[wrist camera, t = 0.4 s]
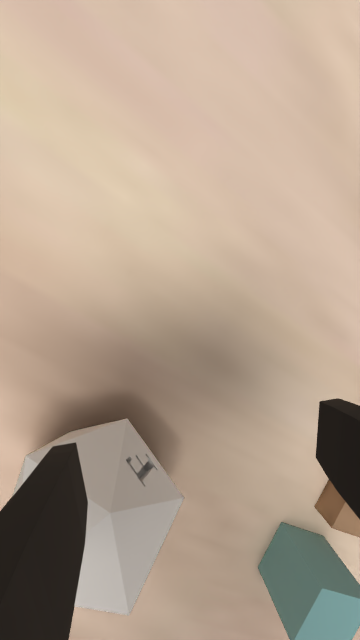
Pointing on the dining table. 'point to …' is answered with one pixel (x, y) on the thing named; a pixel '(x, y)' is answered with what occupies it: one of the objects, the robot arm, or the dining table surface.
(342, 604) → the teal block
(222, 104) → the dining table surface
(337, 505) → the walnut slab
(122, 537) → the die
